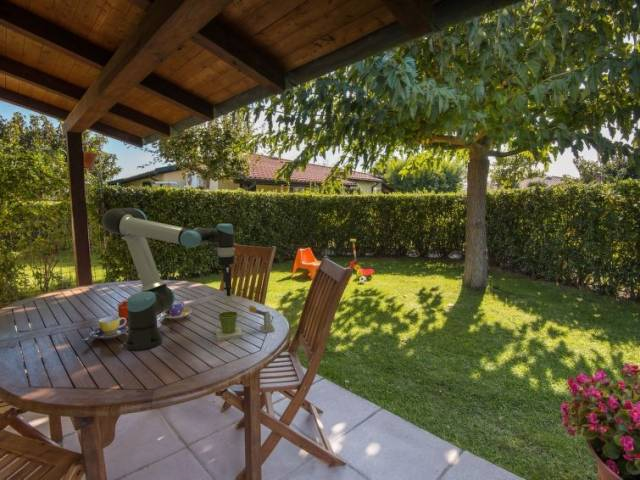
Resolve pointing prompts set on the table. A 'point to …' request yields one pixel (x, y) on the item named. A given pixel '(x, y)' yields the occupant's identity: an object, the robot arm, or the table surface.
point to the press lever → (257, 311)
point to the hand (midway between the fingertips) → (227, 298)
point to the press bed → (229, 334)
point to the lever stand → (267, 324)
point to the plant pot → (228, 321)
